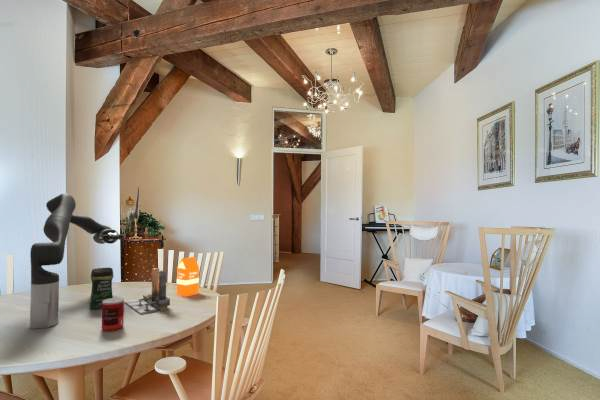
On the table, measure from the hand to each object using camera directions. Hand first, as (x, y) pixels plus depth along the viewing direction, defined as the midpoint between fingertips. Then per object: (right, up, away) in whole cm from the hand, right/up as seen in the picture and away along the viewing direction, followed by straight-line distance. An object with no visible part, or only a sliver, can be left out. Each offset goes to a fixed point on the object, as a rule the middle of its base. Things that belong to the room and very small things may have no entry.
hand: (116, 237), depth 173 cm
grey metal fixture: (+18, -32, -6) cm, 37 cm away
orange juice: (+30, -33, +17) cm, 48 cm away
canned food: (+18, -32, -37) cm, 52 cm away
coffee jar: (-3, -32, -8) cm, 33 cm away
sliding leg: (+19, -31, -5) cm, 37 cm away
